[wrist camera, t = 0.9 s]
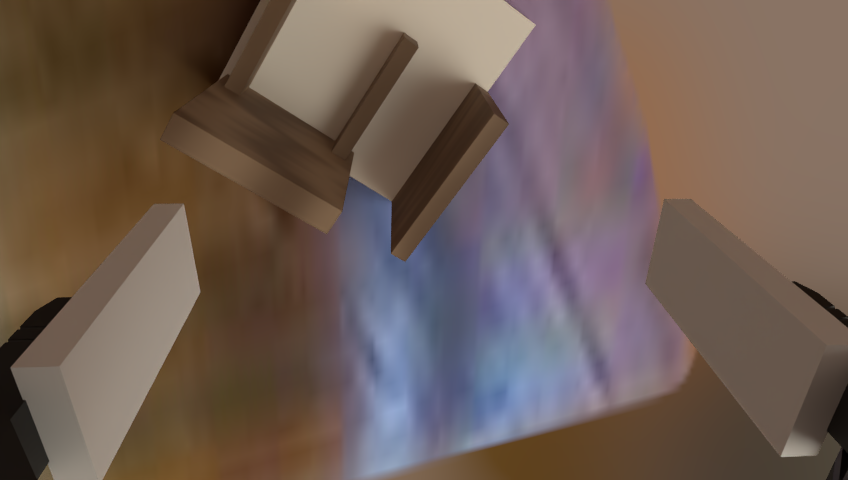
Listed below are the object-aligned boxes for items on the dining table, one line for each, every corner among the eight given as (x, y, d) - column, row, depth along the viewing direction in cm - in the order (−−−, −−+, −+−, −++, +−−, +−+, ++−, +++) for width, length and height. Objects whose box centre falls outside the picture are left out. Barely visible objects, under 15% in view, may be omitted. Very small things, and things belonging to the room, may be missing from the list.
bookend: (220, 91, 38) (160, 139, 28) (294, -48, 35) (254, -48, 25) (343, 166, 41) (326, 234, 31) (423, 44, 37) (432, 76, 28)
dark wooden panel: (391, 196, 42) (391, 253, 34) (473, 80, 39) (494, 113, 31) (403, 203, 42) (405, 261, 34) (485, 88, 39) (508, 124, 31)
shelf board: (216, 88, 38) (212, 92, 37) (332, -132, 33) (330, -134, 32) (403, 203, 42) (403, 208, 41) (532, 23, 37) (535, 25, 36)
